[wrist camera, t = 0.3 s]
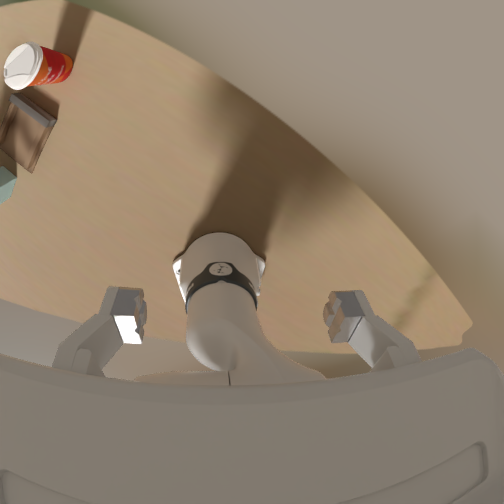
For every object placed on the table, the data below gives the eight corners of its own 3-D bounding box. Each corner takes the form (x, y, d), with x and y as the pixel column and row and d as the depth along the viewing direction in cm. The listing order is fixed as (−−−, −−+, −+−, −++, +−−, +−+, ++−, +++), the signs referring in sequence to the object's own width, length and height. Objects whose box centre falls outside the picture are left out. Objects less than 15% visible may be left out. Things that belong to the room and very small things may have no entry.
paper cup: (46, 93, 35) (2, 97, 23) (44, 58, 32) (1, 53, 19) (79, 80, 36) (38, 78, 24) (78, 44, 32) (38, 32, 20)
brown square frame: (32, 173, 42) (24, 177, 40) (-2, 145, 37) (-10, 148, 35) (57, 119, 39) (49, 121, 36) (20, 92, 33) (11, 93, 31)
